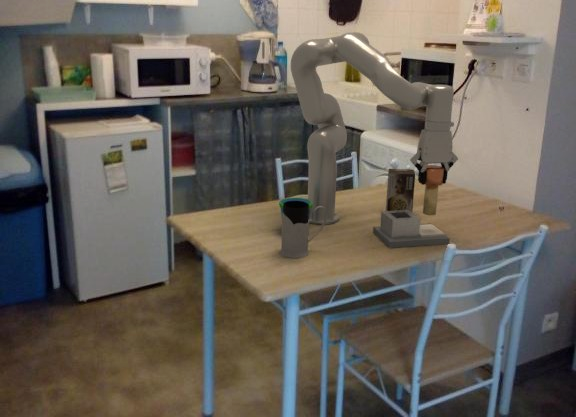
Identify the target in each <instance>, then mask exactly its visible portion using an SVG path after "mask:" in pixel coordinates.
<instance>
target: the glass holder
mask: <svg viewBox="0 0 576 417" xmlns="http://www.w3.org/2000/svg"><path fill="white" fill-rule="evenodd" d="M318 208H324V207H322V206H318V207H316V208H315V209H314V211H313V214H312V219H311V220H308V217H309V204H308V203H306V202H303V201H287V202H285V203H283V213H282V215H281V246H280V250H279V254H280V255H281V256H283V257H284V258H285V257H286V258H288V259H301V258H306V257H307V256H309V255H310V252H309V244H310V242H311V241H312V240H313V239H315V237H316V236H317V235H318V234H319V233H321V231H322V230H323V228H324V227H325V225H326V224H325V222H326V217H327V211H326V209H325V208H324V210H325V219H324V222H323V224H321V226H320V228H318V230H317V231H316V232H315V233H314V234H313V235H312V236H311V237H310V238H309V231H310V230H309V226H310V223H309V222H310V221H312V220H313V219H314V213H315V211H316V210H317V209H318Z"/></svg>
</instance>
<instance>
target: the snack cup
mask: <svg viewBox="0 0 576 417" xmlns="http://www.w3.org/2000/svg"><path fill="white" fill-rule="evenodd" d="M287 201H303V202H306V203H308V204H309V216H310V210H311V208H312V206H313V204H312V202H311V201H310V200H308V198H303V197H288V198H287V197H285V198H283V199H281V200H280V201H279V202H278V206H279V208H280V213H281V215H280V216H282V213H283V203H285V202H287ZM308 220H309V217H308Z"/></svg>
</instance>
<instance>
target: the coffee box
mask: <svg viewBox="0 0 576 417" xmlns="http://www.w3.org/2000/svg"><path fill="white" fill-rule="evenodd" d="M387 174H388V175H387V187H386V188H387V189H386V198H385V199H386V200H385V201H386V202H385V204H386V205H385V211H397V210H409V211H410V212H412V213H413V211H414V209H413V208H414V196H415V182H416V173H415V169H405V168H404V169H403V168H388V173H387Z"/></svg>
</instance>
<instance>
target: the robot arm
mask: <svg viewBox="0 0 576 417" xmlns="http://www.w3.org/2000/svg"><path fill="white" fill-rule="evenodd" d="M344 62H345V63H347V64H348V65H349V66H351V68H353V69H354V70H357V72H359V73H360V74H361V75H363V76H364V77H365V78H367V79H368V80H370V82H371V83H372V84H373V85H374V86H375V87H376V88H377V90H378V91H379V92H380V93H381V94H382V95H383V96H385V97H386V98H388V99H389V100H390V101H391V102H393V103H394V104H396V106H397V105H398V107H400V108H402V109H404V110H406V111H407V110H408V111H414V110H416V109H418V108H421V107H426V109H425V110H426V111H425V119H424V120H425V122H424V129H421V132H420V135H419V139H418V144H417V149H416V153H415V154H414V155H413V156H412V157H411V158H410V159H409V160H410V162H411V163H412V164H413V166H414V168H416V169H417V170H418V174H417V175H418V176H417V177H418V178H417V181H418V183H419V184H421V185H423V186H425V179H426V172H425V169H426V167H427V165H433V164H440V166H441V167H444V175H443V184H444V185H445V184H446V183H447V180H448V172H449V171H450V169H451V168H453V166H454V164H455V163H456V162H457V161H458V160H459V158H458V156H457V155H456V154H455V153H454V152H453V134H452V130H451V128H452V127H454V126H455V122H454V121H452V110H453V102H454V101H453V100H454V91H455V90H454V87H453V86H452V85H447V84H430V83H425V82H421V81H417V82H416V81H415V82H410V81H408V80H407V79H405V78H404V77H403V76H401V75H400V74H399V73H398V72H396V71H395V69H394V68H393V67H392V65H391V62H390V60H389V58H388V56H386V55H385V54H383V53H382V52H380V51H379V50H378V49H377V48H375V47H373V46H372V44H370V41H369V40H368V37H367V36H365V35H364V33H361V32H357V31H356V32H355V31H354V32H353V31H352V32H346V33H343V34H341V35H337V36H331V37H325V38H315V39H313V38H311V39H308V40H306V41H304V42H302V43H301V44H300V45H298V46H297V47H296V49H295V50H294V51H293V53H292V55H291V59H290V72H291V76H292V80H293V82H294V86H295V89H296V94H297V98H298V101H299V105H300V109H301V113H302V116H303V119H304V120H305V122H306V123H307V124H309V125H311V126H312V125H313V126H316V125H317V128H318V129H316V130H314V131H313V132H312V133H311V134H310V136H309V137H308V139H307V140H308V141H307V146H306V147H307V157H308V171H307V172H308V178H307V179H308V180H307V181H308V182H307V199H308V200H310V201H311V202H312V204H313V206H312V208H311V210H310V216H309V220H311V219H312V214H313V211H314V209H315V208H316V207H318V206H322V207H324V208H325V209H326V211H327V217H326V222H325V224H324V225H331V224H335V223H337V222H338V221H339V220H340V216H339V215H338V213H336V212H335V211H336V192H337V191H336V190H337V174H338V172H337V171H338V166H337V165H338V164H337V157H336V156H337V152H339V151H341V150H343V148H344V147H345V146H346V144H347V139H348V135H347V134H348V133H347V129H346V125H345V122H344V117H343V114H342V111H341V107H340V104H339V102H338V100H337V99H336V98H335V97H334V96H333V95H332V94H329V93H326V92H325V91H324V89H323V88H324V87H323V85H322V80H321V78H320V75H319V74H318V72H317V67H321V66H326V65H327V66H328V65H331V64H333V65H334V64H337V63H344ZM443 184H442V185H443ZM324 208H318V209H317V210H316V211H315V213H314V219H313V220H312V221H310V222H309V224H314V225H322V224H323V222H324V219H325V210H324Z"/></svg>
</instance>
